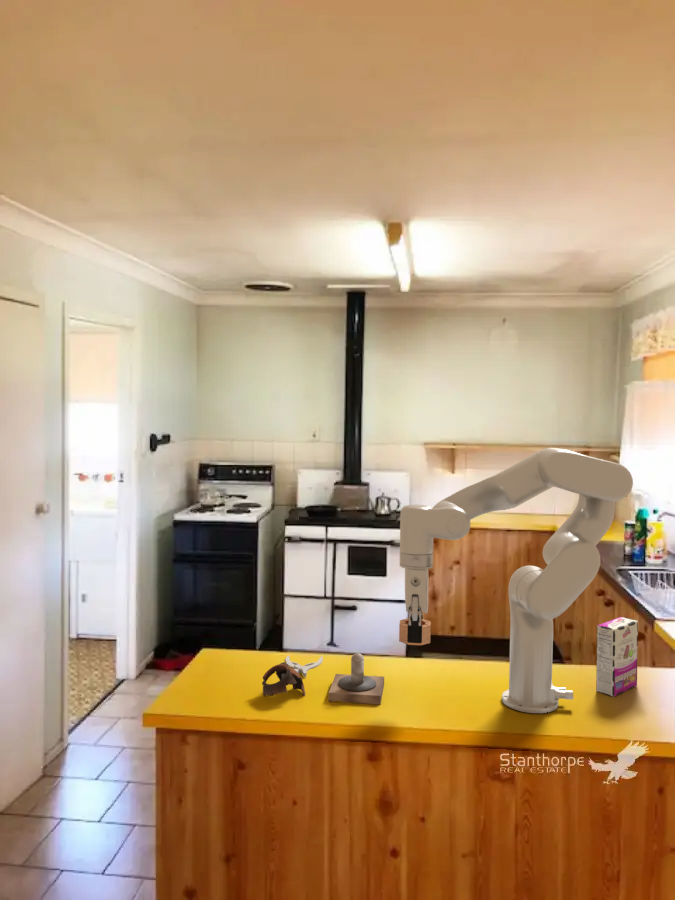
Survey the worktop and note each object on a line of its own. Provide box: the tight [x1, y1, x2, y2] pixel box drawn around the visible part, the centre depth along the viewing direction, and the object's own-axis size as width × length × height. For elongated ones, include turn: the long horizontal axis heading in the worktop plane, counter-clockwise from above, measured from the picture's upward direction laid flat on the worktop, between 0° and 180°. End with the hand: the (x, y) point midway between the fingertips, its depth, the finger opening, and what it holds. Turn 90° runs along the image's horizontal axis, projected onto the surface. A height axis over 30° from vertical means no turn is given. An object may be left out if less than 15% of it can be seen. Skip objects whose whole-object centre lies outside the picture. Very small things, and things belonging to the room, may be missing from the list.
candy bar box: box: [595, 616, 639, 698], centre depth 175 cm, size 11×5×16 cm, turn 129°
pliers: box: [285, 655, 324, 678], centre depth 188 cm, size 10×2×15 cm
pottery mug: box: [261, 661, 306, 697], centre depth 171 cm, size 12×10×8 cm
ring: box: [398, 617, 432, 646], centre depth 164 cm, size 7×7×4 cm
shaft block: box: [328, 652, 385, 705], centre depth 171 cm, size 12×12×10 cm
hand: (414, 636), depth 164 cm, fingers closed on ring, 7 cm apart
